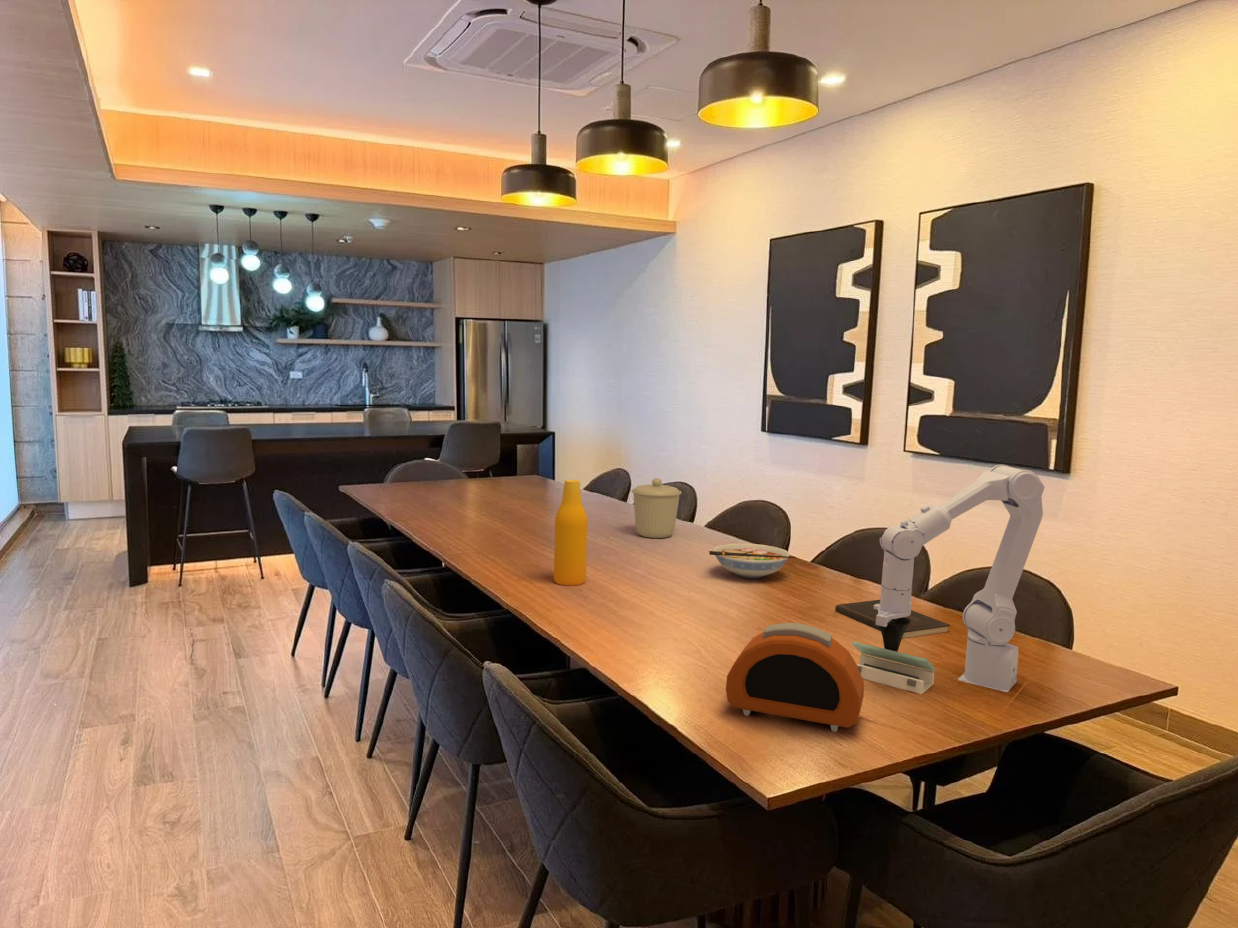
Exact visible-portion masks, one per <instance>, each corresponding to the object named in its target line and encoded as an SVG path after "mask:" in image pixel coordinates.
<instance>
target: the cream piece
mask: <svg viewBox="0 0 1238 928" xmlns="http://www.w3.org/2000/svg"><path fill="white" fill-rule="evenodd" d="M864 663H865V664H869V665H873V666H877V667H881V668H885V669H888V670H892V671H896V672H900V673H904V674H908V675H912V676H916V677H919V679H915V678H911V677H907V676H903V675H899V674H895V673H892V672H888V671H884V670H880V669H876V668H872V667H868V666H864V665H863V664H864ZM856 664H857V666H858V669H859V671H860V674H861V676H862V679H863V680H867V681H871V682H875V683H876V684H877V683H878V684H882V685H885V686H889V687H893V688H897V689H901V690H904V691H907V692H912V693H917V694H919V695H923V694H924V693H926V691H928V689H930V688H931V687H932V686H933V685H934V681H935V671H931V670H926V669H922V668H918V667H914V666H910V665H906V664H902V663H898V662H894V661H890V660H886V659H882V658H878V657H874V656H870V655H866V654H862V653H860V654H859V662H858V663H856Z"/></svg>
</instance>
